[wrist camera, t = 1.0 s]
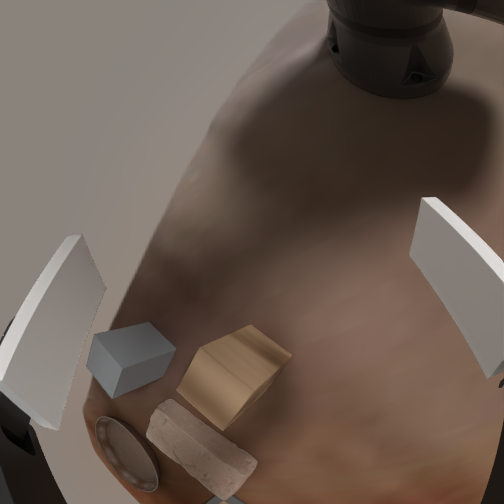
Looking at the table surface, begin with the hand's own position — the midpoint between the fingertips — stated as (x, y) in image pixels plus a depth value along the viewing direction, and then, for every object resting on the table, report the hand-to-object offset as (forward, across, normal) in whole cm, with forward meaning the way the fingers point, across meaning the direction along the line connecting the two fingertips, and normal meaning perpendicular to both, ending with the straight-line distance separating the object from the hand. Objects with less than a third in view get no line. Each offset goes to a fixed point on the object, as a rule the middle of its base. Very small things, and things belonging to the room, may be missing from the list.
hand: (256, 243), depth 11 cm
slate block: (+17, -15, -28) cm, 36 cm away
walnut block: (+11, -1, -23) cm, 26 cm away
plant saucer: (+7, -27, -49) cm, 57 cm away
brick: (+6, -10, -38) cm, 40 cm away
